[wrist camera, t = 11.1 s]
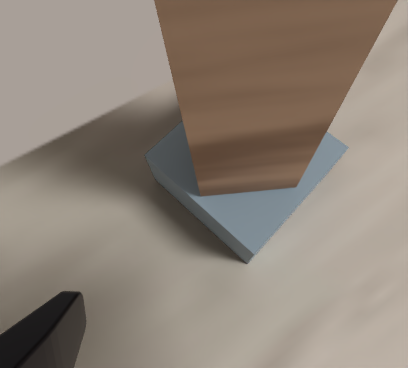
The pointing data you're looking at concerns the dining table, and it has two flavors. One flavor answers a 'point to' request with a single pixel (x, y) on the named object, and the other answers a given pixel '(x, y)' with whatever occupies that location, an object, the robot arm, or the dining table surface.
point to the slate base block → (237, 202)
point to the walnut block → (263, 81)
